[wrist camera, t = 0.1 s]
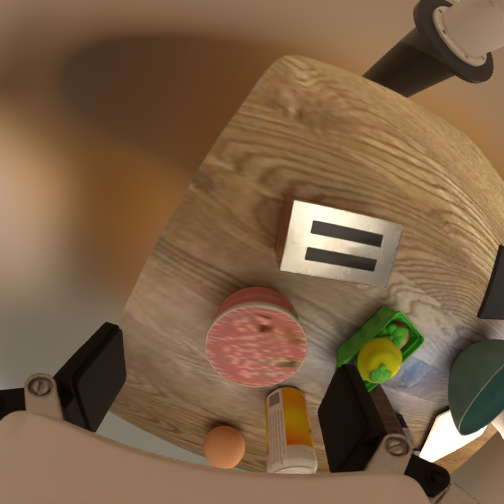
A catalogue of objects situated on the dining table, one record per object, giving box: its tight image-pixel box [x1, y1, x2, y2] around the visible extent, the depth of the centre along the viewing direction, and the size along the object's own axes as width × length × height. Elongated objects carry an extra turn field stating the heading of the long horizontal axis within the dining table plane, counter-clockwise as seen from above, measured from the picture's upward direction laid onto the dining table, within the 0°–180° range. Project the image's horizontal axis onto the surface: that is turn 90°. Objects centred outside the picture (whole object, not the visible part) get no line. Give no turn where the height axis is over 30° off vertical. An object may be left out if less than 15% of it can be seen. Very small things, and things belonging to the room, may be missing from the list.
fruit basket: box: [335, 306, 424, 392], centre depth 29 cm, size 11×9×11 cm
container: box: [205, 287, 307, 387], centre depth 30 cm, size 10×10×8 cm
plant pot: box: [448, 339, 504, 436], centre depth 31 cm, size 18×18×12 cm
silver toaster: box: [274, 195, 403, 287], centre depth 28 cm, size 6×12×8 cm, turn 80°
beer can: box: [266, 387, 318, 474], centre depth 31 cm, size 6×6×15 cm
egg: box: [203, 426, 245, 469], centre depth 36 cm, size 7×7×9 cm
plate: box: [420, 410, 486, 462], centre depth 41 cm, size 26×26×2 cm
